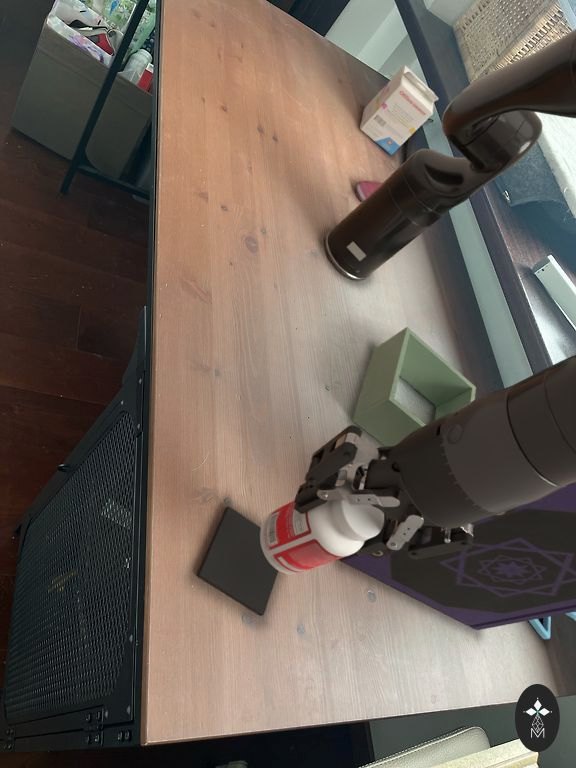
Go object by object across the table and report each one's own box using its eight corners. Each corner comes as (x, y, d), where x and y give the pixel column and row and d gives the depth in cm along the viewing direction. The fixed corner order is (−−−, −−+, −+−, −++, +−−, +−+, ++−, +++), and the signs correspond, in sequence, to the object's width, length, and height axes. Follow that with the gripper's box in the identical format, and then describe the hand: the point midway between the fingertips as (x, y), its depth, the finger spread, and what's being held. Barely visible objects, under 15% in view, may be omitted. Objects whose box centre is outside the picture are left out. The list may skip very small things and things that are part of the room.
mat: (225, 507, 65) (228, 505, 64) (283, 546, 67) (287, 545, 66) (196, 576, 59) (199, 574, 59) (260, 616, 61) (263, 615, 61)
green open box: (373, 349, 92) (407, 326, 87) (440, 406, 96) (476, 387, 91) (352, 420, 82) (388, 399, 78) (427, 480, 86) (467, 463, 82)
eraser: (360, 204, 108) (367, 197, 107) (351, 184, 109) (358, 178, 108) (399, 208, 116) (406, 202, 115) (391, 190, 117) (397, 184, 116)
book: (475, 586, 83) (713, 526, 62) (476, 633, 79) (729, 587, 58) (342, 513, 74) (568, 416, 53) (335, 563, 70) (576, 478, 50)
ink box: (393, 135, 129) (442, 86, 120) (390, 156, 124) (441, 107, 114) (363, 108, 126) (411, 56, 117) (358, 128, 120) (408, 76, 111)
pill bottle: (320, 559, 60) (402, 529, 52) (276, 587, 55) (359, 559, 48) (291, 500, 61) (368, 463, 53) (246, 523, 56) (322, 487, 49)
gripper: (551, 472, 47) (394, 530, 58) (419, 357, 42) (278, 444, 54) (551, 559, 42) (379, 603, 53) (401, 439, 37) (250, 515, 49)
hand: (329, 523), depth 54 cm, fingers closed on pill bottle, 6 cm apart
